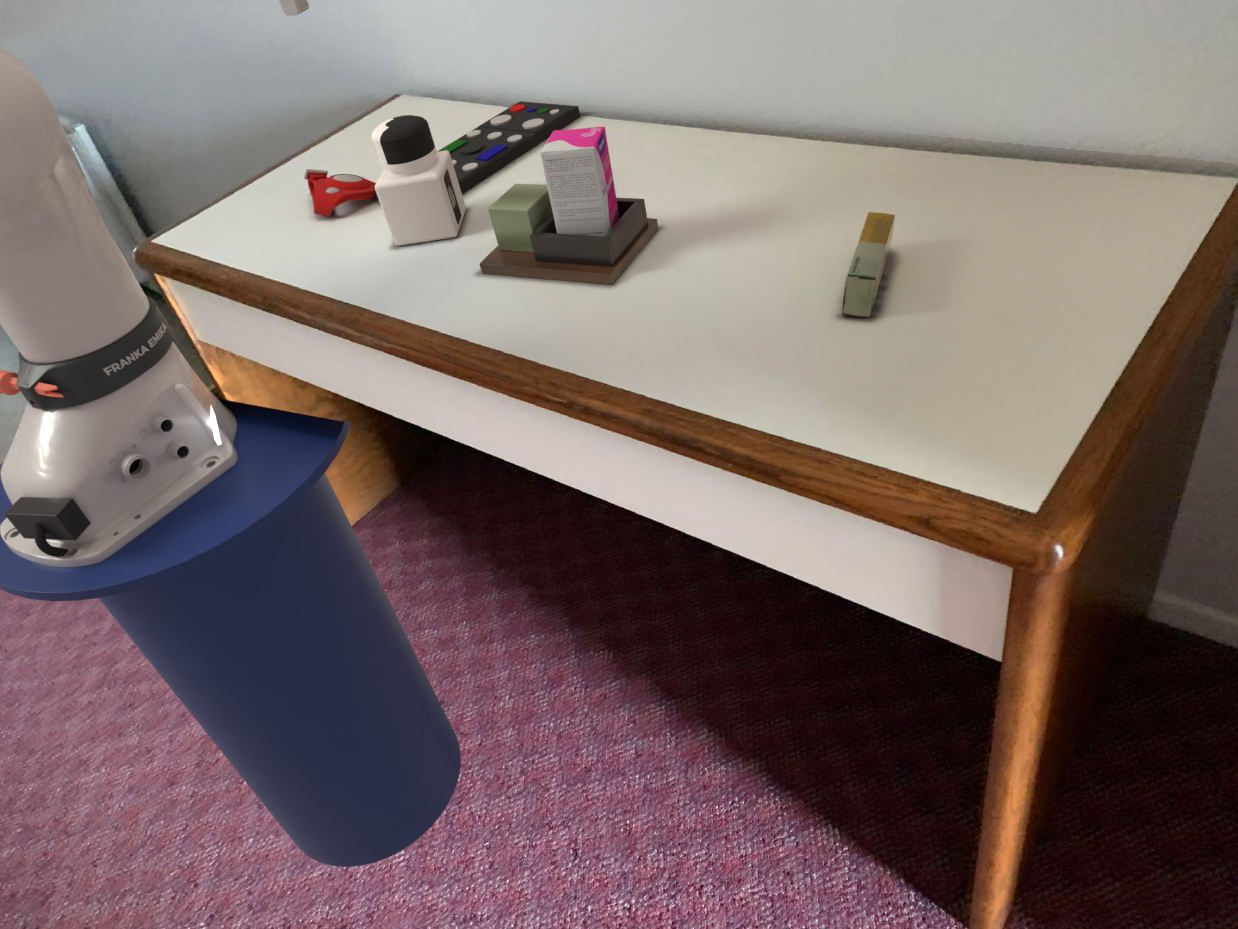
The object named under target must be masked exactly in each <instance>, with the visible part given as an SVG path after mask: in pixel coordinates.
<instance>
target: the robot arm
mask: <svg viewBox="0 0 1238 929" xmlns="http://www.w3.org/2000/svg"><path fill="white" fill-rule="evenodd" d="M278 2H279V4H280V7H281V10H282V12H283V13H284V15H286V16H287V17H289V16H291V17H293V16H298V15H301V14H302V13H303V12H306V11H307V10H309V7H310V5H309V2H308V0H278ZM0 326H1V328H3V330H4V332H5V333H6V334H7V336H8V338H9V339H10V341H11V342H12V343H13V345H14V347H16V349H17V350H18V363H19V368H18V372H13V371H8V370H4V369H0V394H4V395H6V396H15V395H17V394H19V393H21V395H22V396H23V397H24V398H25V400H26V402H27V404H26V406H25V409H24V412H23V414H22V417H21V420H20V422H19V425H18V427H17V430H16V432H15V435H14V436H13V440H12V442H11V443H10V447H9V450H8V451H7V454H6V456H5V459H4V460H3V462H4V463H3V462H2V463H3V465H2V467H1V480H2V484H3V487H4V489H5V492H6V494H7V496H8V498H9V500H10V502H11V504H12V506H11V507H10V508H9V509H8V510H7V512H6V513H5V514H4V515H5V516H6V517H7V518H6V519H5V520H4V521H3V522H2V524H1V525H0V534H1V537H2V539H3V540H4V542H5V543H6V545H7V546H8V548H9V549H10V550H11V551H13V552H14V553H15V554H17V555H18V556H20V557H22V558H24V559H27V560H30V561H32V562H35V563H39V564H43V565H47V566H53V567H81V566H87V565H92V564H96V563H100V562H102V561H104V560H105V559H107V558H108V557H110V556H111V555H113V554H114V553H115V552H117V551H118V550H119V549H121V548H122V547H124V546H125V545H126V544H128V543H129V542H130V541H132V540H133V539H134V538H136V537H137V536H139V535H140V534H141V533H143V532H144V531H145V530H147V529H148V528H149V527H151V526H152V525H154V524H155V523H156V522H158V521H159V520H160V519H162V518H163V517H164V516H166V515H167V514H168V513H170V512H171V511H173V510H174V509H175V508H177V507H178V506H179V505H181V504H182V503H183V502H185V501H186V500H188V499H189V498H190V497H192V496H193V495H194V494H196V493H197V492H198V491H200V490H201V489H202V488H204V487H205V486H207V485H208V484H209V483H211V482H212V481H213V480H215V479H216V478H217V477H219V476H220V475H222V474H223V473H224V472H226V471H227V470H228V469H230V468H231V467H232V466H233V465H234V464H235V463H236V462H237V460H238V454H237V451H236V449H235V447H234V439H235V435H236V432H237V420H236V417H235V415H234V414H233V413H232V412H231V411H230V410H229V409H228V408H227V407H226V406H225V405H224V404H222V403H221V402H220V401H219V400H218V399H219V398H218V399H217V397H216V395H215V394H214V393H213V392H212V391H211V390H210V389H209V388H208V386H207V385H206V384H205V383H204V381H203V380H202V379H201V378H200V376H199V375H198V374H197V373H196V372H195V370H194V368H192V366H191V365H190V364H189V362H188V361H187V359H186V358H185V356H184V355H183V354H182V352H181V351H180V349H179V348H178V342H177V339H176V336H175V334H174V331H173V330H172V328H171V326H170V325H169V323H168V320H166V317H165V316H164V313H163V312H162V311H161V310H160V308H159V306H158V305H157V303H156V301H155V299H153V298H152V297H150V296H148V295H146V294H145V292H144V290H143V288H142V286H141V285H140V283H139V281H138V280H137V277H136V276H135V274H134V273H133V270H132V269H131V267H130V265H129V263H128V261H126V259H125V257H124V255H123V253H122V251H121V249H120V248H119V246H118V244H117V243H116V241H115V239H114V237H113V236H112V233H111V231H110V230H109V228H108V226H107V224H106V222H105V221H104V218H103V217H102V214H101V213H100V210H99V208H98V206H97V203H96V201H95V198H94V196H93V193H92V191H91V187H90V185H89V183H88V181H87V178H86V175H85V173H84V171H83V168H82V167H81V163H80V161H79V159H78V156H77V155H76V153H75V151H74V149H73V146H72V144H71V141H70V139H69V138H68V136H67V133H66V131H65V129H64V127H63V125H62V123H61V120H60V119H59V116H58V113H57V111H56V109H55V106H54V104H53V101H52V100H51V98H50V96H49V95H48V92H47V91H46V89H45V88H44V86H43V85H42V84H41V82H40V80H39V79H38V78H37V77H36V76H35V75H34V73H33V72H32V71H31V70H30V69H29V67H27V65H26V64H24V63H23V62H22V61H21V59H19V58H17V57H16V56H15V55H14V54H12V53H11V52H9V51H8V50H5V49H4V48H2V47H0Z"/></svg>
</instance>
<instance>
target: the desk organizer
mask: <svg viewBox="0 0 1238 929" xmlns="http://www.w3.org/2000/svg"><path fill="white" fill-rule="evenodd" d="M616 199H617V205H618V212H619V218H620V219H619V220H618V221H617V222H616V223H615V225H614V226H613V227H612V228H611V229H610V230H609V231H608V232H607V233H606V235H605V236H604V237H603V236H588V235H572V234H557V230H556V225H555V221H554V216H553V211H552V206H551V202H550V197H549V192H548V188H547V184H541V183H539V184H537V183H514V184H513V185H512V186H511V187H510V188H508V190H506V191H505V192H504V193H502V195H500V197H499V198H497V199H496V200H495V201H494V202H493V203H492V204H491V205H490V206H489V207H488V208H487V210H488V213H489V218H490V221H491V225H492V228H493V231H494V235H495V238H496V242H497V246H496V247H495V248H494V249H493V250H491V252H490V253H488V255H487V256H485V258H484V259H482V260H481V261H480V263H479V267H480V271H481V274H485V275H486V274H487V275H497V276H499V275H500V276H508V277H509V276H510V277H522V278H533V279H542V280H543V279H545V280H556V281H566V282H567V281H568V282H579V283H589V284H591V283H592V284H602V285H613V284H614V283H615V282H616V280H617V279H618V278H619V277H620V276H621V275H622V273H623V272H624V271H625V270H626V269H627V267H628V266H629V265H630V264H631V263H632V261H633V260H634V259H635V258H636V257H637V255H638V254H639V253H640V252H641V250H642V249H643V248H644V247H645V246H646V244H647V243H648V242H649V241H650V239H651V238H652V237H654V235H655V233H656V232H657V231H658V230H659V224H658V218H653V217H652V218H651V217H648V213H647V207H646V202H645V198H635V197H616Z"/></svg>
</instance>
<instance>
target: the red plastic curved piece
mask: <svg viewBox="0 0 1238 929" xmlns="http://www.w3.org/2000/svg"><path fill="white" fill-rule="evenodd" d="M328 174H329V171H328V170H324V169H313V168H311V169H310V168H305V171H304V176H303V179H304V180H307V185H308V190H309V193H310V196H311V198H312V205H313V213H314V214H316V215H321V216H324V217H325V216H326V217H331V215H332V213H333V211H334V209H335V208H337V207H338V206H340V205H342V204H344V203H346V202H352V201H361V200H362V201H363V200H369V199H373V198H376V197H375V195H374V192H373V190H374V189H375V185H376V183H377V182H374V181H372V180H370V179H367V178H365V177H363V176H360V175H357V174H350V173H339V174H334V175H330V176H328Z"/></svg>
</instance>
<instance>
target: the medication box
mask: <svg viewBox="0 0 1238 929" xmlns="http://www.w3.org/2000/svg"><path fill="white" fill-rule="evenodd" d="M895 220H896V215H895V214H891V213H885V212H875V211H868V212H867V214H866V218H865V221H864V223H863V226H862V230H861V232H860V235H859V239H858V242H857V244H856V247H855V251H854V253H853V256H852V259H851V263H850V265H849V268H848V272H847V276H846V279H845V284H844V290H843V296H842V306H841V307H842V308H841V315H845V316H848V317H849V316H850V317H854V318H859V319H860V318H862V319H864V318H866V319H869V318H871V314H872V310H873V307H874V304H875V300H876V297H877V294H878V291H879V286H880V284H881V279H882V276H883V273H884V269H885V266H886V262H887V259H888V256H889V253H890V248H891V244H892V240H893V235H894V228H895Z"/></svg>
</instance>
